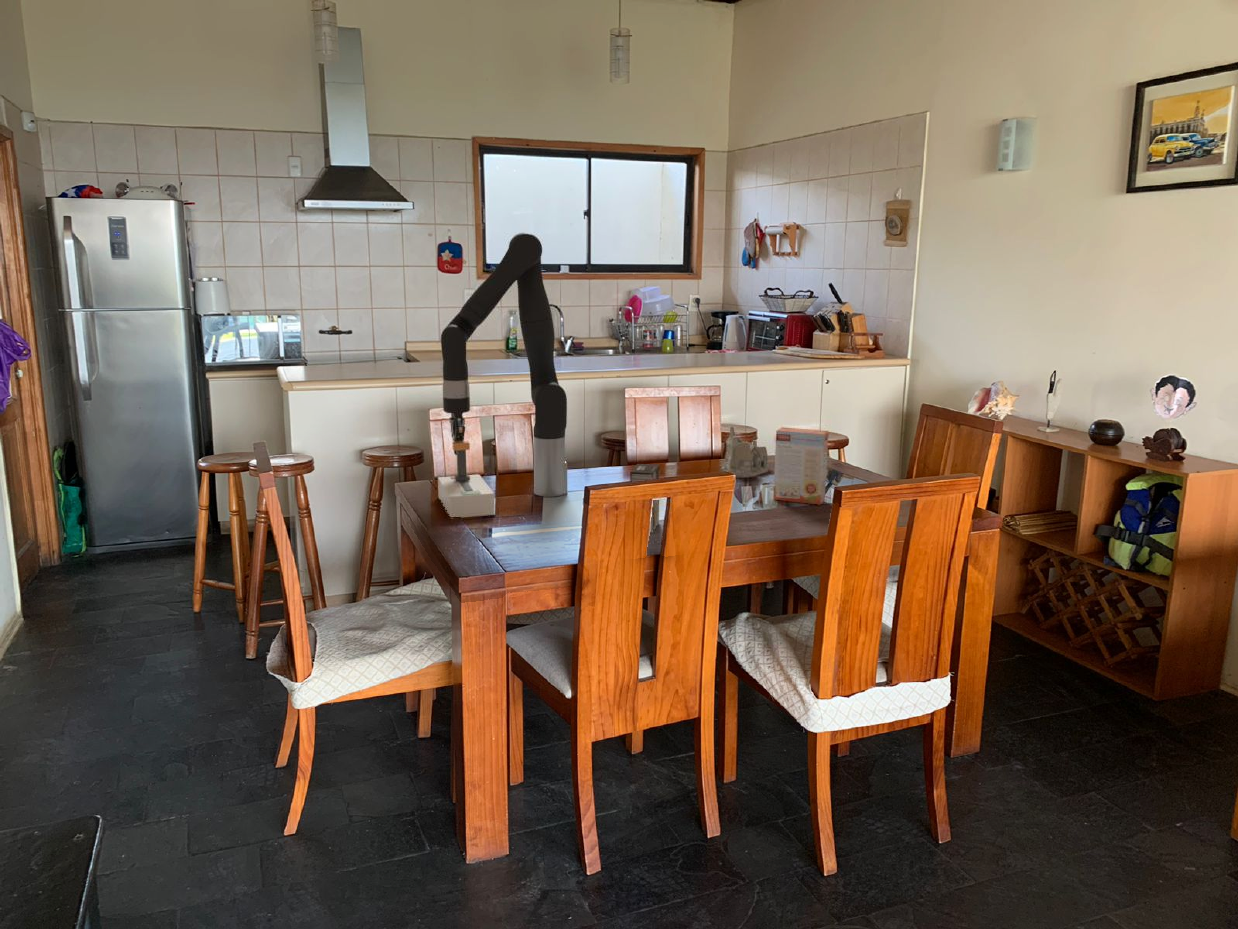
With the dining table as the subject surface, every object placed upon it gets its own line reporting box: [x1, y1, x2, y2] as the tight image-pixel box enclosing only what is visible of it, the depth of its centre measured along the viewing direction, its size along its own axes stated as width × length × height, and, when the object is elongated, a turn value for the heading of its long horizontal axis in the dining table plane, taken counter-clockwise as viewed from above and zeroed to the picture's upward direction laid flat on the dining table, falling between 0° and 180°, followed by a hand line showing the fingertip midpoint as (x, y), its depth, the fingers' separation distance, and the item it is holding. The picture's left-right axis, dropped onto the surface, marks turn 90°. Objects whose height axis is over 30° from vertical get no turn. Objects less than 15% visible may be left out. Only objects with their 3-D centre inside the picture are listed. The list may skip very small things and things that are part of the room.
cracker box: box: [773, 426, 829, 506], centre depth 267 cm, size 14×6×21 cm, turn 65°
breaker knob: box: [452, 440, 470, 481], centre depth 263 cm, size 4×3×11 cm
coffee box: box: [629, 463, 661, 532], centre depth 241 cm, size 9×6×16 cm
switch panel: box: [437, 474, 496, 518], centre depth 260 cm, size 12×22×6 cm, turn 19°
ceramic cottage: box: [720, 425, 769, 478], centre depth 302 cm, size 16×16×15 cm
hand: (458, 454), depth 268 cm, fingers closed
